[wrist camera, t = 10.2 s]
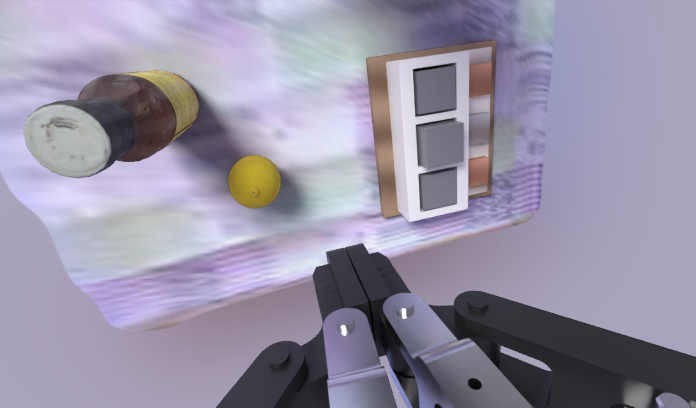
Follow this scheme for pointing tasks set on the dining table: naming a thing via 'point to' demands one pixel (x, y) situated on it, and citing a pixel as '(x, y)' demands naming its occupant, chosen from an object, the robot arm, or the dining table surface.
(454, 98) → the button
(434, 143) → the button
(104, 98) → the sauce bottle
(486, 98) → the switch base
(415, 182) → the switch housing
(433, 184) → the button
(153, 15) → the dining table surface
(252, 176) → the lemon
